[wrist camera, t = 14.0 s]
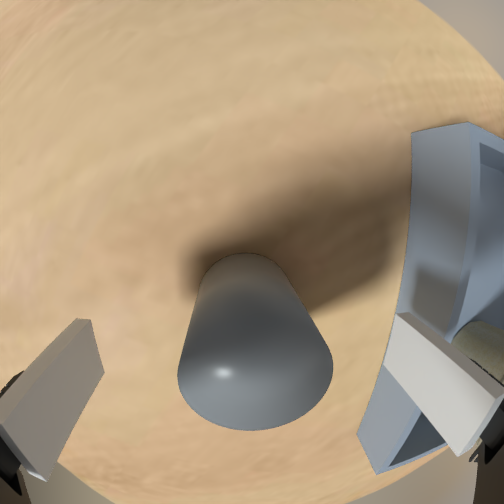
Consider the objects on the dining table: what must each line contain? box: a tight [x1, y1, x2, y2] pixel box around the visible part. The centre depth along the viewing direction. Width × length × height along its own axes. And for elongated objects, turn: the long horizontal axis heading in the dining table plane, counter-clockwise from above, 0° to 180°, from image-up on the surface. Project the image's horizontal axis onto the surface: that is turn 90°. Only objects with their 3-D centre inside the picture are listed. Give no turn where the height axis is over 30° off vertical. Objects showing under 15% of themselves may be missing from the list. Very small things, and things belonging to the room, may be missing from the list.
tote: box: [357, 122, 504, 475], centre depth 14 cm, size 24×18×5 cm
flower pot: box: [451, 321, 504, 449], centre depth 13 cm, size 9×9×9 cm
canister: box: [177, 253, 333, 431], centre depth 11 cm, size 5×5×7 cm
